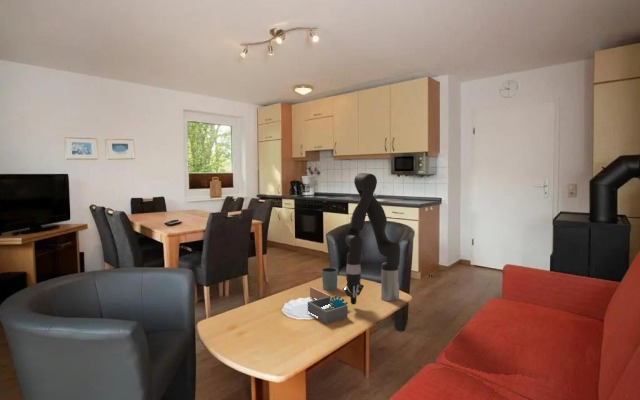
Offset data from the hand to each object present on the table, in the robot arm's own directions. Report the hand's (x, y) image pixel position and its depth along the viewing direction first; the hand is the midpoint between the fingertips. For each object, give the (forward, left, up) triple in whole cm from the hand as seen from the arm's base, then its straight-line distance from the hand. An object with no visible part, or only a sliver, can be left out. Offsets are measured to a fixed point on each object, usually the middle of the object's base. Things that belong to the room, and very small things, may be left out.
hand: (353, 303), depth 184 cm
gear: (+9, 0, -2) cm, 10 cm away
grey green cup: (-8, -32, -2) cm, 33 cm away
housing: (+17, 0, -2) cm, 17 cm away
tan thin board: (+10, -17, -2) cm, 20 cm away
